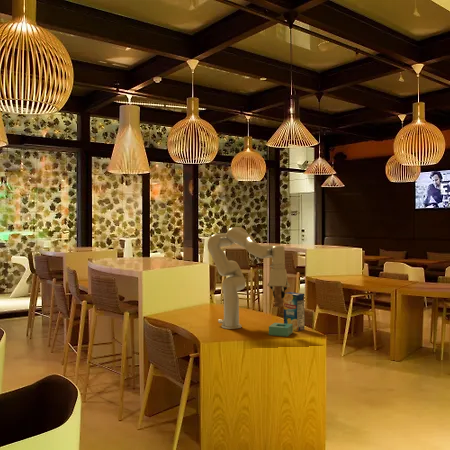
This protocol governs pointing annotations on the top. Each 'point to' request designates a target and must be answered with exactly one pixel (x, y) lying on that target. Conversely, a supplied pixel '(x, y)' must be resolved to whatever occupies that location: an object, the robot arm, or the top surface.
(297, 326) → the beverage box
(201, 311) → the top surface
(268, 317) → the top surface
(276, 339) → the top surface
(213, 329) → the top surface
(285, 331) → the green square frame
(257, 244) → the robot arm
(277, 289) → the long wooden beam
